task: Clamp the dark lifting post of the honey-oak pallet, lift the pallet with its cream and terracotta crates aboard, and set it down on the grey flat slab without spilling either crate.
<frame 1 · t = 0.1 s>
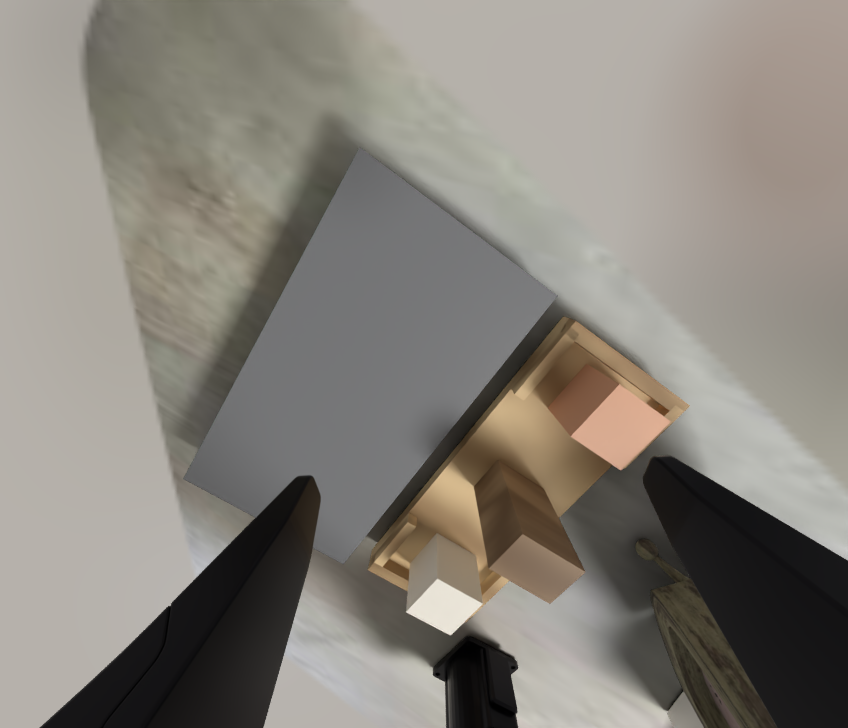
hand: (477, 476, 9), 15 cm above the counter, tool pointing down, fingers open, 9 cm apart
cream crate: (442, 559, 27), point 2 cm above the counter, touching oak pallet
milk carton: (710, 695, 34), on the counter
terracotta crate: (588, 401, 22), point 2 cm above the counter, touching oak pallet
tabletop clock: (682, 572, 29), on the counter
oak pallet: (502, 470, 27), on the counter, touching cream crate, terracotta crate
grey flat slab: (359, 382, 24), on the counter
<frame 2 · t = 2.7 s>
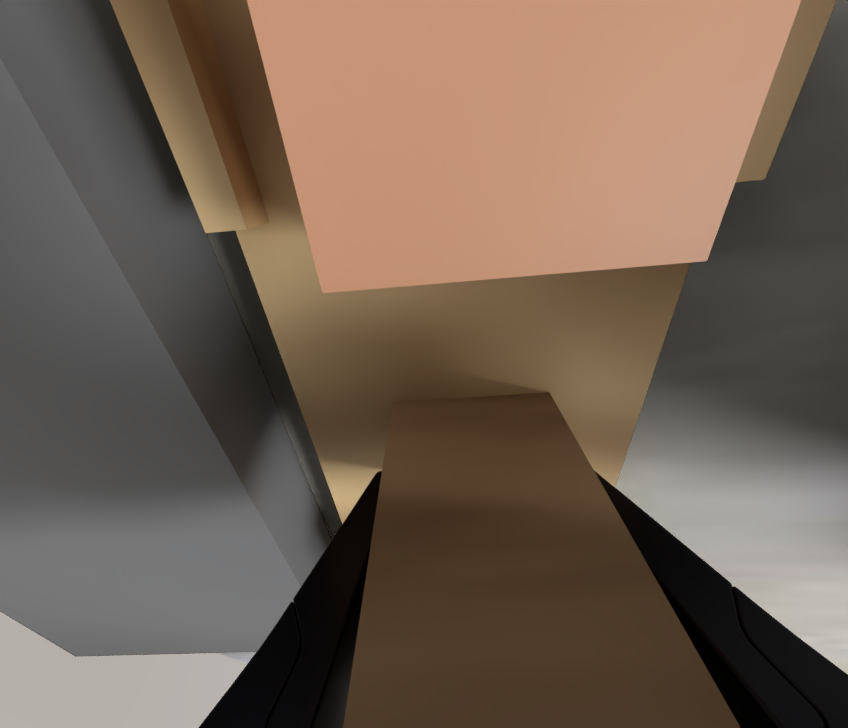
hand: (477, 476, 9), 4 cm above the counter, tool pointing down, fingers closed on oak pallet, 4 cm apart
terracotta crate: (465, 107, 6), point 2 cm above the counter, touching oak pallet
oak pallet: (463, 394, 12), on the counter, touching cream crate, gripper, terracotta crate
grey flat slab: (102, 421, 12), on the counter
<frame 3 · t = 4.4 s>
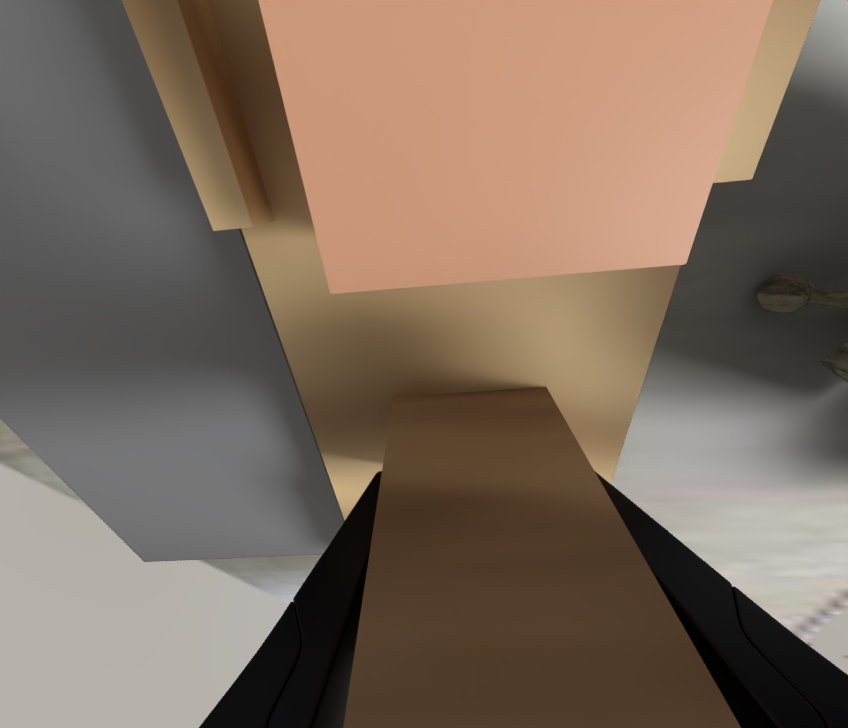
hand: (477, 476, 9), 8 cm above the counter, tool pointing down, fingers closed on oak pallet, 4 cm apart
terracotta crate: (463, 116, 6), point 6 cm above the counter, touching oak pallet
oak pallet: (462, 390, 12), point 4 cm above the counter, touching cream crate, gripper, terracotta crate
grey flat slab: (182, 360, 16), on the counter
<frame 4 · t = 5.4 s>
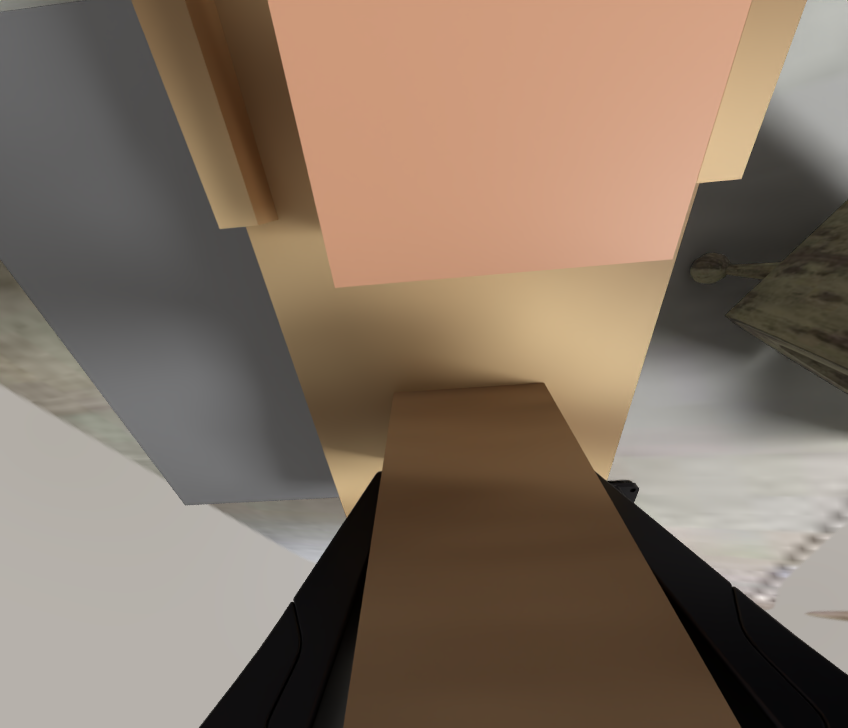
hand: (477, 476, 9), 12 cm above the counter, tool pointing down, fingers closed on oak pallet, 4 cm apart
terracotta crate: (462, 117, 6), point 10 cm above the counter, touching oak pallet
tabletop clock: (801, 262, 18), on the counter
oak pallet: (462, 386, 12), point 8 cm above the counter, touching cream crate, gripper, terracotta crate
grey flat slab: (225, 326, 20), on the counter
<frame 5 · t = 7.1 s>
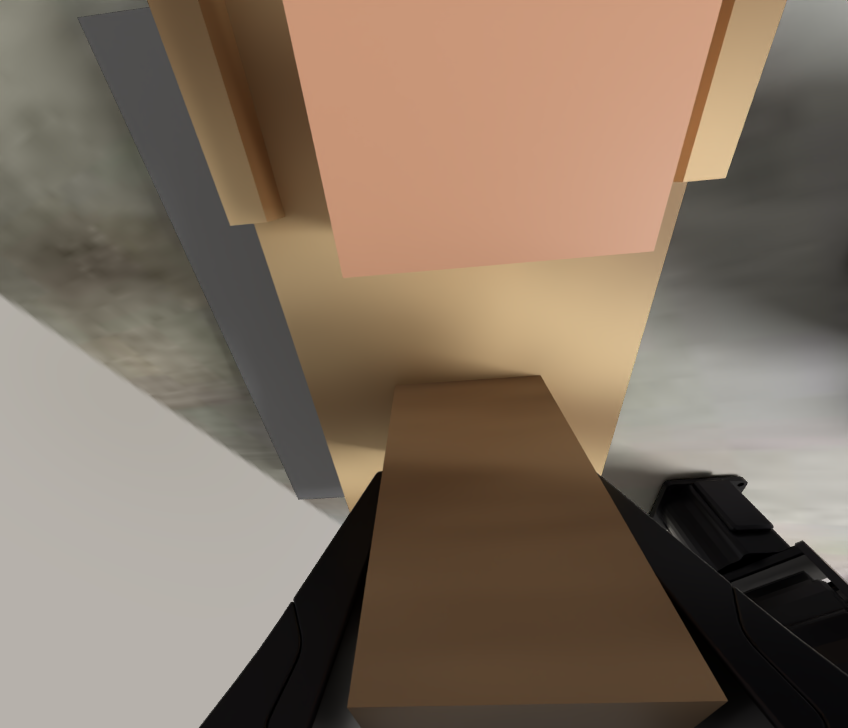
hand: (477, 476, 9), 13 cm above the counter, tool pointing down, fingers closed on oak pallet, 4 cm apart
terracotta crate: (461, 120, 7), point 10 cm above the counter, touching oak pallet
oak pallet: (461, 380, 12), point 8 cm above the counter, touching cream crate, gripper, terracotta crate
grey flat slab: (363, 317, 20), on the counter
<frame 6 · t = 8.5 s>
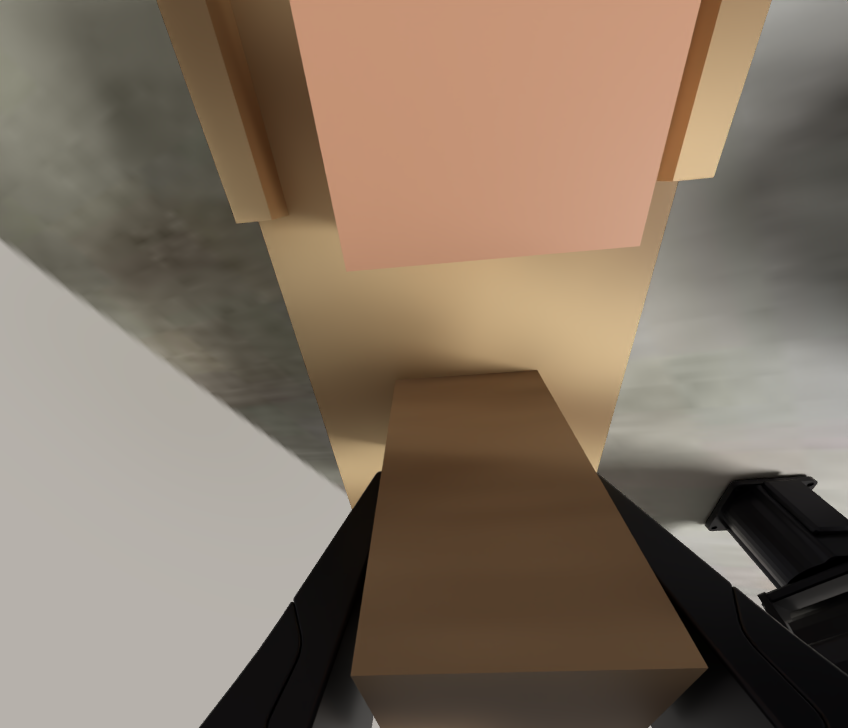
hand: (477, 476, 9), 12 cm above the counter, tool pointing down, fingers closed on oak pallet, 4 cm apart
terracotta crate: (459, 121, 7), point 9 cm above the counter, touching oak pallet
oak pallet: (460, 376, 13), point 7 cm above the counter, touching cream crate, gripper, terracotta crate
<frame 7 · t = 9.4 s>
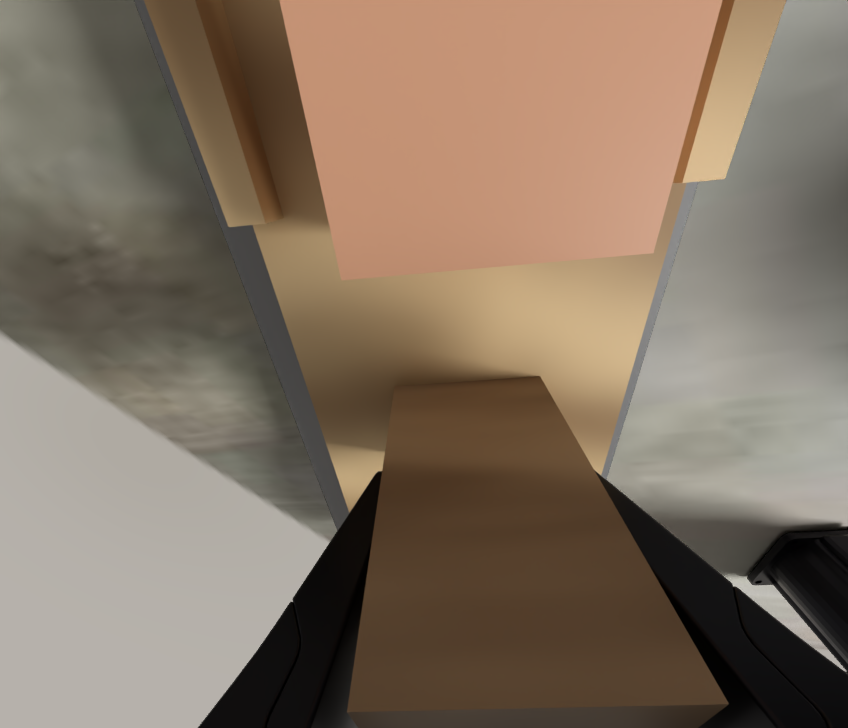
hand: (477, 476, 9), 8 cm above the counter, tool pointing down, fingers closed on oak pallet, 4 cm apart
terracotta crate: (460, 120, 6), point 5 cm above the counter, touching oak pallet
oak pallet: (461, 381, 12), point 3 cm above the counter, touching grey flat slab, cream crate, gripper, terracotta crate
grey flat slab: (452, 345, 15), on the counter
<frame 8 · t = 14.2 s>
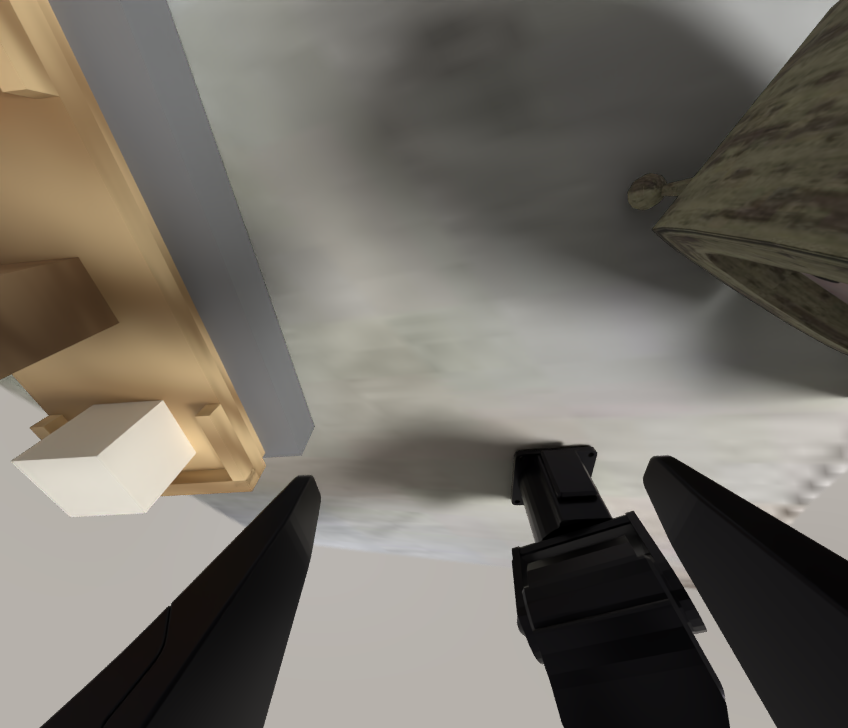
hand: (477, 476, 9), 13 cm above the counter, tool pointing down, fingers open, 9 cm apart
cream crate: (147, 430, 18), point 5 cm above the counter, touching oak pallet
tabletop clock: (748, 190, 17), on the counter
oak pallet: (96, 281, 16), point 3 cm above the counter, touching grey flat slab, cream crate, terracotta crate
grey flat slab: (140, 266, 19), on the counter
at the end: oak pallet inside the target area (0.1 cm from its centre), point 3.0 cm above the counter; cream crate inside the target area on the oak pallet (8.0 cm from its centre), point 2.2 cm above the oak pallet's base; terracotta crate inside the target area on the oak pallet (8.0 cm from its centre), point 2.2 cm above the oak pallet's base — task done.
